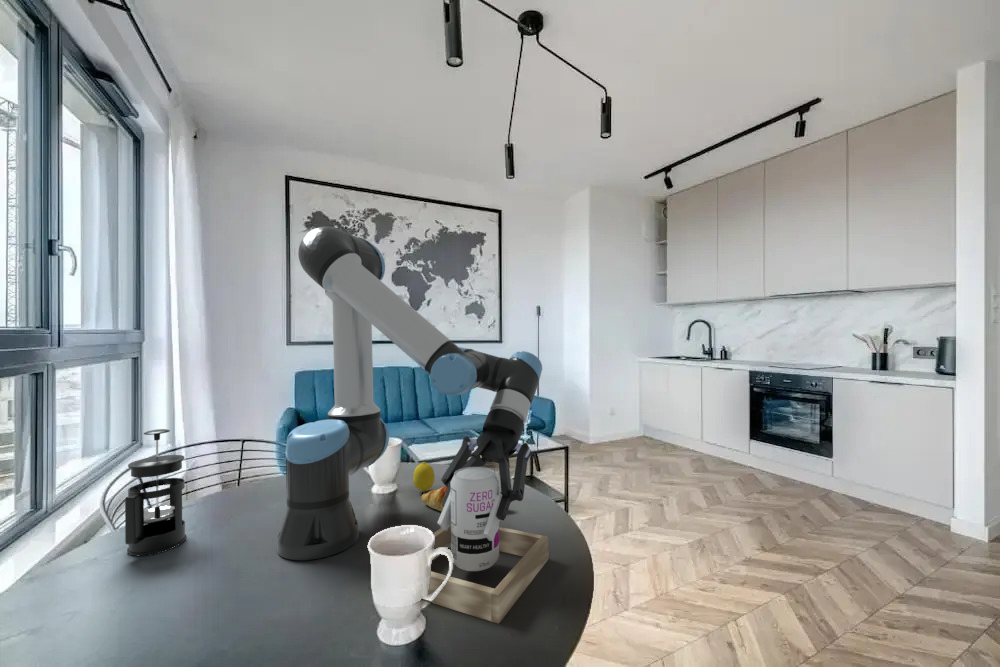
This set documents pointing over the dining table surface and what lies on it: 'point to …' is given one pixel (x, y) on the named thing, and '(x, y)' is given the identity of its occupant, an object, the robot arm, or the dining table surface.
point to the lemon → (423, 477)
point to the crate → (503, 597)
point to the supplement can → (473, 518)
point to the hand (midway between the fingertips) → (464, 532)
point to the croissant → (435, 498)
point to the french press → (157, 528)
